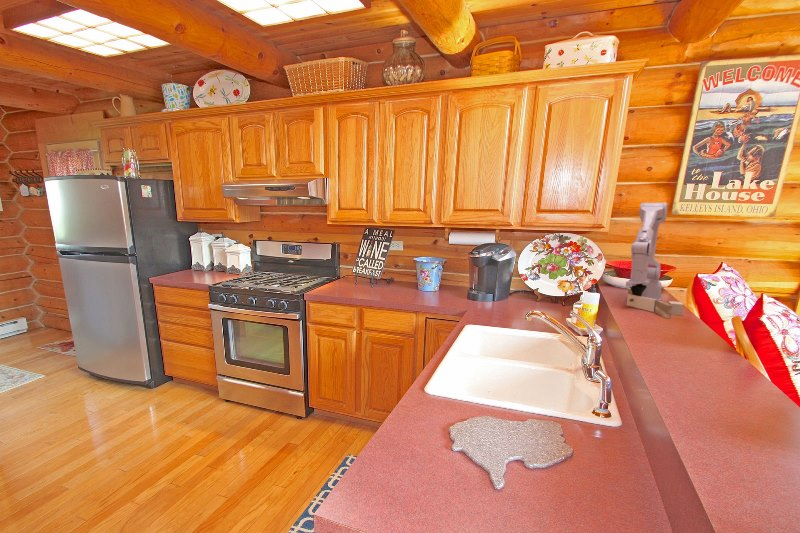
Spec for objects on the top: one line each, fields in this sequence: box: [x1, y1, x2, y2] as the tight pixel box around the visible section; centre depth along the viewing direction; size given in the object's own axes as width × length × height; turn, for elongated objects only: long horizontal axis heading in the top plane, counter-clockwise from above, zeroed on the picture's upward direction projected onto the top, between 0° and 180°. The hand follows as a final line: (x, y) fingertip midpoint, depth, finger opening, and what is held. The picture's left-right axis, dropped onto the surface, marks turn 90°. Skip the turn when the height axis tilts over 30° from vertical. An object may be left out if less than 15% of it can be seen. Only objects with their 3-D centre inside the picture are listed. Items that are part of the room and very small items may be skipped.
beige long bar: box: [627, 289, 672, 319], centre depth 148 cm, size 2×28×5 cm, turn 174°
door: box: [626, 293, 659, 313], centre depth 147 cm, size 2×12×5 cm, turn 24°
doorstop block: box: [667, 300, 685, 316], centre depth 140 cm, size 4×4×4 cm
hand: (636, 301), depth 150 cm, fingers closed, pressing on door
